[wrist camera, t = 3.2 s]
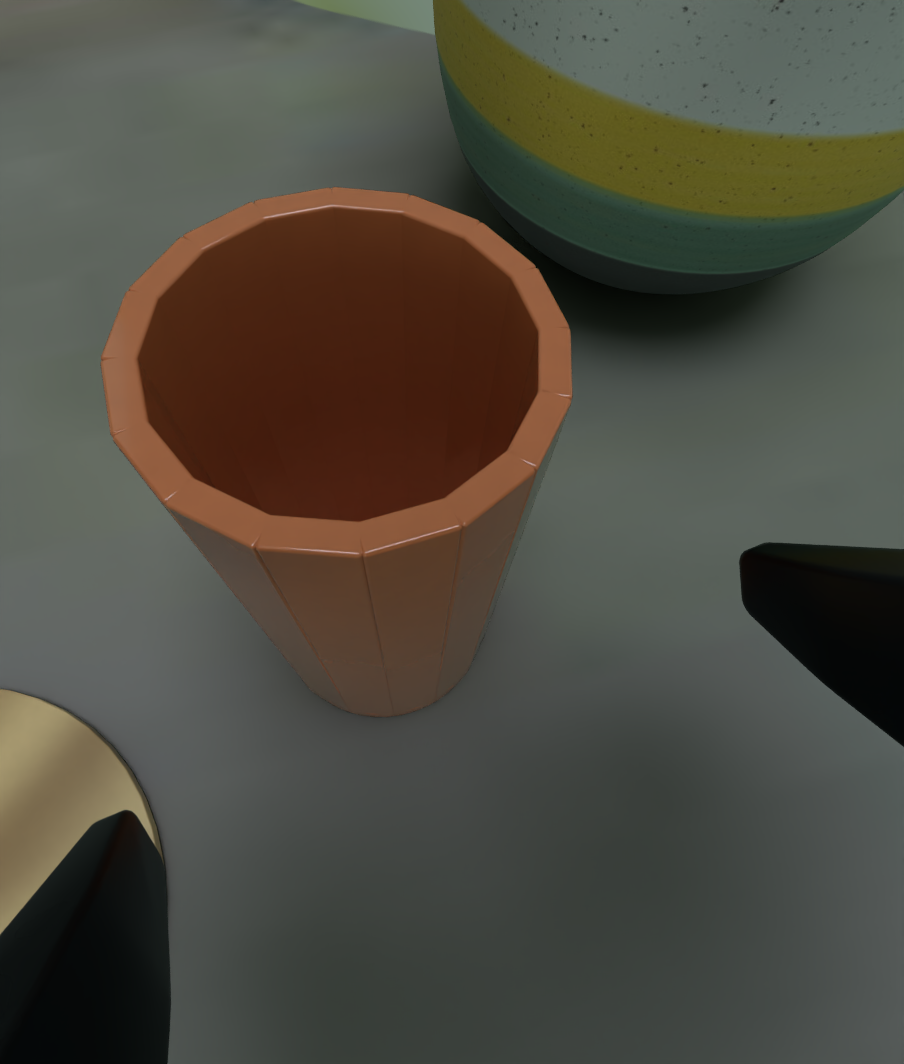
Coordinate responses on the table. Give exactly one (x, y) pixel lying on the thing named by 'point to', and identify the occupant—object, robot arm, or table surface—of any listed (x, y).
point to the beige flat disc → (53, 792)
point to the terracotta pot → (347, 425)
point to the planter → (678, 129)
